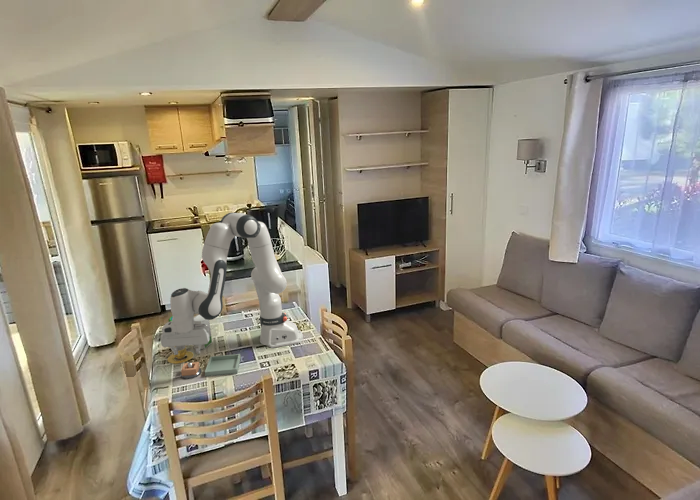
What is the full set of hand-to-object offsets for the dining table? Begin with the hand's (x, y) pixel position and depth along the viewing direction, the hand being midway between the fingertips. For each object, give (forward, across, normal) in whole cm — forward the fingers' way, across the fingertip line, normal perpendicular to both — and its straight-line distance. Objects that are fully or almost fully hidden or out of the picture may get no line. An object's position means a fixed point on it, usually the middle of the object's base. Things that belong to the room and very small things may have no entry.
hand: (187, 353), depth 192 cm
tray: (+10, -15, -3) cm, 18 cm away
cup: (+11, +8, -17) cm, 21 cm away
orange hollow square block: (+9, -1, 0) cm, 9 cm away
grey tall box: (+10, 0, -27) cm, 29 cm away
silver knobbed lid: (+10, -1, 0) cm, 10 cm away
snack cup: (+10, +14, -43) cm, 47 cm away
